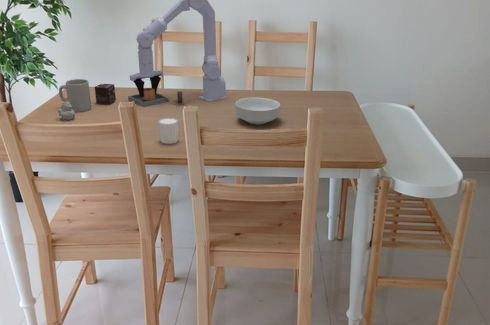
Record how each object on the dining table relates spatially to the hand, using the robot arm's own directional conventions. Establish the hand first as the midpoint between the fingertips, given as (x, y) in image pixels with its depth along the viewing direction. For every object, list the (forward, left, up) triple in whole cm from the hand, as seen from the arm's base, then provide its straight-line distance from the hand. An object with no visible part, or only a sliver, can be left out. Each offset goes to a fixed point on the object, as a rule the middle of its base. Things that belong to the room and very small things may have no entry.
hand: (148, 95), depth 198 cm
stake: (-9, +10, -3) cm, 14 cm away
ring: (0, -1, -1) cm, 2 cm away
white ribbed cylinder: (+18, +42, -3) cm, 46 cm away
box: (+14, -10, -3) cm, 18 cm away
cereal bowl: (-19, +46, -3) cm, 50 cm away
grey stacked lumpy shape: (+35, 0, -3) cm, 35 cm away
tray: (0, 0, -3) cm, 3 cm away
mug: (+27, -10, -3) cm, 29 cm away
